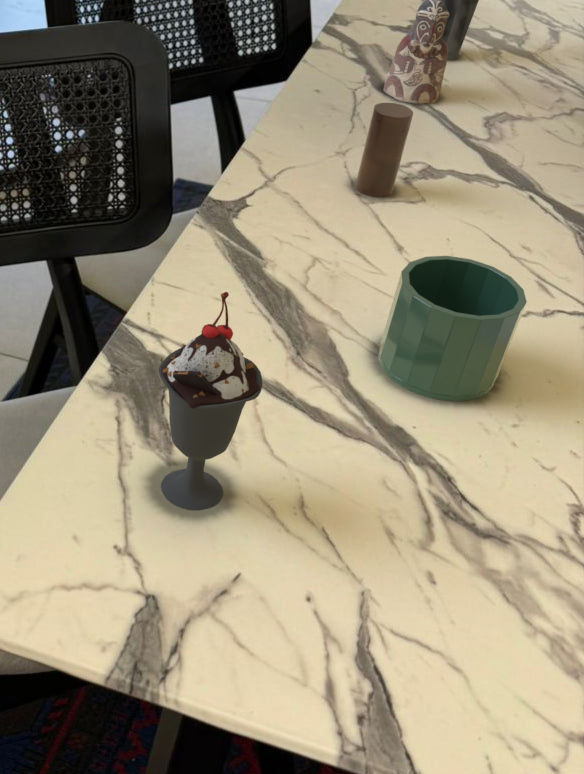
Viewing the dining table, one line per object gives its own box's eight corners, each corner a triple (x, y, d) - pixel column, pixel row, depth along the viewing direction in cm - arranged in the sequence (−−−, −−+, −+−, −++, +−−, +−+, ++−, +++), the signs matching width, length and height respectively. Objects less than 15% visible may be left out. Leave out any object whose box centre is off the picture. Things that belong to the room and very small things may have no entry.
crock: (507, 364, 87) (539, 281, 82) (473, 419, 81) (506, 333, 76) (400, 325, 91) (425, 243, 85) (360, 375, 84) (384, 290, 79)
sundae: (212, 453, 75) (244, 273, 65) (254, 513, 71) (295, 329, 61) (129, 470, 73) (149, 287, 63) (167, 533, 69) (194, 346, 59)
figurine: (379, 99, 132) (403, 1, 124) (386, 81, 137) (409, -14, 130) (435, 109, 131) (463, 11, 123) (439, 91, 136) (467, -5, 128)
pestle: (396, 190, 112) (418, 109, 106) (383, 203, 109) (405, 120, 103) (362, 180, 113) (382, 99, 107) (348, 192, 111) (368, 110, 105)
